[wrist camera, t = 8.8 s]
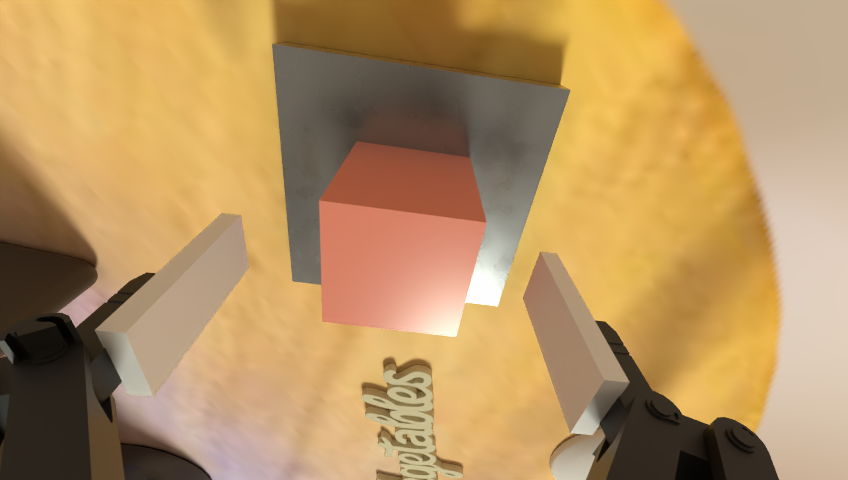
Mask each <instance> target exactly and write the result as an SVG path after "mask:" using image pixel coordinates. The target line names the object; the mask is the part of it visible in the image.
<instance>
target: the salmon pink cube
mask: <svg viewBox="0 0 848 480" xmlns="http://www.w3.org/2000/svg"><path fill="white" fill-rule="evenodd" d="M319 214H320V249H321V284H322V319H323V322H330V323H339V324H348V325H356V326H365V327H374V328H382V329H391V330H400V331H408V332H417V333H426V334H434V335H443V336H452V337H456V335H457V331H458V328H459V324H460V320H461V317H462V313H463V309H464V305H465V302H466V298H467V294H468V291H469V287H470V283H471V279H472V276H473V272H474V268H475V265H476V261H477V257H478V253H479V250H480V246H481V242H482V239H483V235H484V231H485V227H486V224H487V222H486V218H485V214H484V210H483V206H482V202H481V198H480V194H479V190H478V187H477V183H476V179H475V175H474V171H473V167H472V163H471V159H470V157H463V156H456V155H449V154H442V153H435V152H428V151H421V150H414V149H407V148H400V147H393V146H386V145H379V144H372V143H365V142H358V141H357V142H356V143H355V145H354V146H353V148H352V150H351V151H350V153H349V154H348V156H347V157H346V159H345V161H344V162H343V164H342V165H341V167H340V168H339V170H338V172H337V173H336V175H335V176H334V178H333V179H332V181H331V183H330V184H329V186H328V187H327V189H326V190H325V192H324V194H323V195H322V197H321V198H320V200H319Z"/></svg>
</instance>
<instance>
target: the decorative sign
mask: <svg viewBox="0 0 848 480" xmlns="http://www.w3.org/2000/svg"><path fill="white" fill-rule="evenodd" d="M396 368H397V366H396V365H395V364H393V363H391V364H388V365H386V366H385V367H384V373H383V378H384V380H385V381H386V382H387V383H389V384H388V388H387V393H386V392H384V391H381V390H377V389H373V388H365V389H363V392H362V398H361V399H362V400H363V401H365V402H367V403H369V404H372V405H376V406H379V407H383V408H387V409H390V411H389V410H386V409H383V408H378V407H371V406H370V407H367V408H366V412H365V417H366V418H367V419H370V420H372V421H375V422H378V423H381V424H385V425H390V426H395V427H396V429H395V438H396V439H392V437H391V435H390V434H389V433H388V432H386V431H385V430H382V431H381V436H380V437H379V439H378V446H380V447H383V448H386V449H385V456H387V457H392V456H393V450H398V459H399V460H401V463H400V465H401V468H400V473H401V474H402V478H400V477H395V476H390V475H385V474H382V473H377V478H376V480H438V476H437V475H436V471H438V472H440V473H441V474H442V475H444V476H446V477H449V478H462V477H463V468H462V467H460V466H458V465H453V464H448V463H443V462H441V461H440V460H438V459H436V451H435V439H434V438H433V434H432V433H433V423H432V422H433V421H434V412H433V410H432V409H433V387H432V385H431V383H432V371H431V370H430V369H429V368H428V367H426V366H423V365H413V366H411V367H409V368H407V369H405V370H404V371H402V372H399V373H396ZM417 388H419V389H420V390H422V391H419V392H417ZM407 434H408V435H409V436H410V439H411V442H410V441H407ZM423 454H424V455H423Z"/></svg>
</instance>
